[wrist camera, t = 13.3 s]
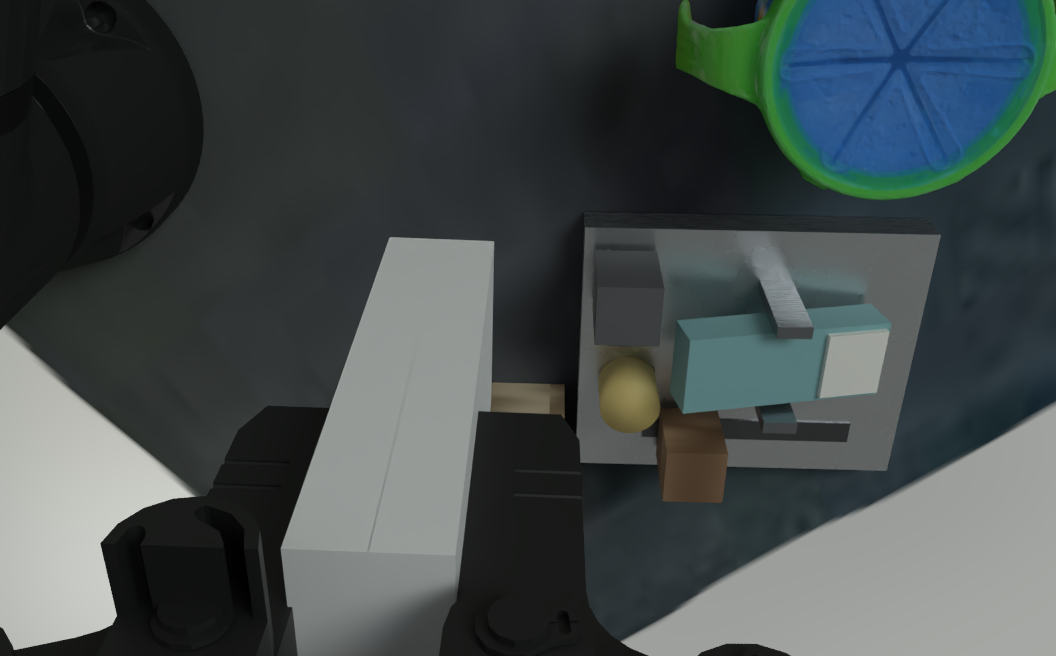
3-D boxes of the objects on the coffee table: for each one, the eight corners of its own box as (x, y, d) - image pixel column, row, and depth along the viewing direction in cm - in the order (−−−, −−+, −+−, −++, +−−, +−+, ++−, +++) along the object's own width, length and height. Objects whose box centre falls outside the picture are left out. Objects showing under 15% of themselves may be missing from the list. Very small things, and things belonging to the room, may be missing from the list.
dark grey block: (592, 305, 49) (594, 345, 46) (594, 250, 48) (597, 287, 44) (652, 306, 49) (659, 346, 46) (657, 251, 48) (664, 288, 44)
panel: (575, 441, 56) (576, 519, 50) (584, 211, 50) (587, 270, 44) (876, 449, 56) (913, 528, 50) (927, 218, 49) (977, 279, 43)
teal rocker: (669, 391, 49) (684, 417, 47) (676, 320, 47) (692, 344, 45) (857, 373, 51) (879, 397, 49) (871, 303, 49) (894, 325, 47)
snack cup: (1050, -102, 42) (1181, -70, 33) (974, 137, 47) (1070, 220, 38) (684, -138, 42) (717, -116, 33) (648, 106, 47) (668, 183, 38)
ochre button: (596, 405, 52) (598, 432, 50) (599, 356, 51) (601, 382, 49) (653, 406, 52) (658, 433, 50) (658, 357, 51) (662, 383, 49)
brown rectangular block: (655, 454, 54) (662, 501, 50) (660, 407, 52) (667, 452, 49) (711, 455, 54) (722, 502, 50) (717, 409, 52) (728, 454, 49)
